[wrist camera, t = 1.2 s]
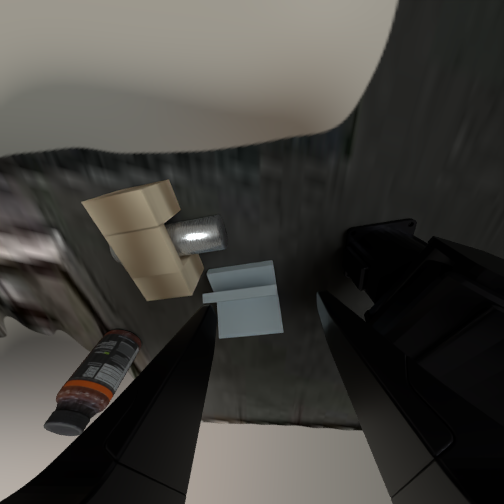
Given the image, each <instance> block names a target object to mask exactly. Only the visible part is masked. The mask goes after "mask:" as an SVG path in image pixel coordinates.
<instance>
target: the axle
mask: <svg viewBox="0 0 504 504" xmlns="http://www.w3.org/2000/svg"><path fill="white" fill-rule="evenodd" d="M165 228H166V230H167V232H168V234H169V236H170V238H171V241H172V243H173V245H174V247H175V249H176V251H177V253H178V256H179V257H180V256H186V255H193V254H199V253H205V252H212V251H218V250H225V249H226V248H227V232H226V229H225V225H224V222H223V219H222V217H221V216H220V215H215V216H209V217H204V218H198V219H193V220H187V221H181V222H176V223H170V224H165ZM109 248H110V252H111V255H112V257H113V258H114V259H115V260H116V261H117V262H118V263H120V264H122V263H121V261H120V260H119V258H118V257H117V255H116V254H115V252H114V251H113V249H112V248H111V246H110V245H109Z"/></svg>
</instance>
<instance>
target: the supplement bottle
mask: <svg viewBox="0 0 504 504" xmlns="http://www.w3.org/2000/svg"><path fill="white" fill-rule="evenodd" d="M140 348H141V340H140V339H139V338H138V337H137V336H136V335H135V334H133V333H132V332H128V331H125V330H111V331H109V332H107V333H106V334H105V335H104V336H103V338H102V339H101V340H100V341H99V342H98V344H97V345H96V346H95V347H94V348H93V350H92V351H91V352H90V353H89V355H88V356H87V357H86V359H85V360H84V361H83V362H82V363H81V365H80V366H79V367H78V368H77V370H76V371H75V372H74V373H73V375H72V376H71V377H70V378H69V380H68V381H67V382H66V383H65V384H64V386H63V387H62V388H61V390H60V391H59V393H58V394H57V396H56V402H57V407H56V410H55V411H54V412H53V413H52V414H51V416H50V417H49V419H48V420H47V421H46V423H45V424H44V428H45V429H46V430H48V431H51V432H53V433H56V434H59V435H66V436H77V435H80V434H81V433H82V432H83V431H84V429H85V427H86V425H87V424H88V423H89V422H90V418H92V417H93V416H94V415H95V414H96V413H99V412H101V411H103V410H104V409H105V408H106V407H107V405H108V404H109V402H110V400H111V398H112V397H113V395H114V394H115V392H116V390H117V388H118V387H119V385H120V383H121V381H122V380H123V378H124V376H125V375H126V373H127V371H128V369H129V367H130V366H131V364H132V362H133V361H134V359H135V357H136V355H137V353H138V352H139V350H140Z"/></svg>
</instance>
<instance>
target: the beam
mask: <svg viewBox="0 0 504 504" xmlns="http://www.w3.org/2000/svg"><path fill="white" fill-rule="evenodd" d="M81 203H82V204H83V206H84V207H85V209H86V210H87V212H88V213H89V215H90V216H91V218H92V219H93V221H94V222H95V224H96V225H97V227H98V228H99V230H100V231H101V233H102V234H103V236H104V237H105V239H106V240H107V242H108V243H109V245H110V246H111V248H112V249H113V251H114V252H115V254H116V255H117V257H118V258H119V260H120V261H121V263H122V264H123V266H124V267H125V269H126V270H127V272H128V273H129V275H130V276H131V278H132V279H133V281H134V282H135V284H136V285H137V287H138V288H139V290H140V291H141V293H142V294H143V296H144V297H145V299H146V300H147V301H151V300H159V299H167V298H175V297H183V296H191V295H192V294H193V292H194V290H195V288H196V285H197V283H198V281H199V279H200V276H201V274H202V272H203V270H204V267H203V264H202V262H201V259H200V257H199V254H193V255H186V256H180V257H179V256H178V253H177V251H176V249H175V247H174V245H173V243H172V241H171V238H170V236H169V234H168V232H167V230H166V228H165V225H164V223H165V222H167V221H168V220H169V219H170V218H172V217H173V216H174V215H175V214H176V213H178V212H179V211H180V210H181V209H180V206H179V204H178V201H177V199H176V196H175V194H174V191H173V189H172V186H171V184H170V181H169V180H164V181H159V182H155V183H150V184H145V185H141V186H136V187H131V188H127V189H122V190H119V191H115V192H112V193H109V194H106V195H102V196H99V197H96V198H93V199H89V200H86V201H83V202H81Z"/></svg>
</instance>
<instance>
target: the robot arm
mask: <svg viewBox="0 0 504 504" xmlns="http://www.w3.org/2000/svg"><path fill="white" fill-rule="evenodd" d="M409 223H411V224H410V225H409ZM416 224H417V222H416V220H413V219H403V220H397V221H390V222H384V223H378V224H371V225H365V226H359V227H352V228H350V229H349V230H348V231H347V239H346V247H345V248H344V252H343V268H344V276H345V277H346V278H351V279H352V281H353V282H354V283H355V285H356V286H357V288H358V289H359V290H361V291H362V290H365V292H366V293H367V294H368V296H369V297H370V298H371V300H372V301H373V302H374V305H373V307H372V308H371V309H370V310H367V311H366V313H365V314H364V316H365V320H366V322H365V321H364V320H363V319H362V318H360V317H359V316H358V315H357V314H355V313H354V312H353V311H352V310H350V309H349V308H348V307H347V306H345V305H344V304H343V303H342V302H340V301H339V300H338V299H337V298H335V297H334V296H333V295H332V294H330V293H329V292H328V291H318V292H317V308H318V312H319V316H320V319H321V323H322V326H323V330H324V333H325V337H326V340H327V343H328V346H329V349H330V351H331V354H332V356H333V358H334V361H335V363H336V366H337V368H338V371H339V373H340V376H341V378H342V380H343V383H344V385H345V388H346V390H347V393H348V395H349V398H350V400H351V402H352V405H353V407H354V410H355V412H356V415H357V417H358V420H359V422H360V424H361V427H362V429H363V432H364V434H365V437H366V439H367V442H368V444H369V446H370V449H371V451H372V454H373V456H374V459H375V461H376V464H377V466H378V468H379V471H380V473H381V476H382V478H383V481H384V483H385V486H386V488H387V490H388V493H389V495H390V497H391V500H392V503H393V504H504V259H502V258H499V257H497V256H494V255H492V254H490V253H487V252H485V251H482V250H478V249H475V248H472V247H468V246H465V245H462V244H458V243H455V242H452V241H448V240H445V239H442V238H439V237H435V236H433V237H432V238H431V239H430V240H429V241H428V243H426V242H424V241H422V240H421V239H419V238H417V237H415V236H414V235H413V234H414V231H415V227H416ZM353 231H354V233H353V234H351V233H352V232H353ZM347 274H348V275H347ZM216 325H217V317H216V314H215V312H214V309H213V307H212V305H203V306H201V307H200V309H199V310H198V311H197V312H196V313H195V314H194V315H193V316H192V317H191V318H190V319H189V321H188V322H187V323H186V324H185V325H184V326H183V327H182V328H181V329H180V330H179V331H178V333H177V334H176V335H175V336H174V337H173V338H172V339H171V340H170V341H169V342H168V343H167V345H166V346H165V347H164V348H163V349H162V350H161V351H160V352H159V353H158V354H157V356H156V357H155V358H154V359H153V360H152V361H151V362H150V363H149V364H148V365H147V366H146V368H145V369H144V370H143V371H142V372H141V373H140V374H139V376H137V377H136V378H135V379H134V381H133V382H132V383H131V384H130V385H129V386H128V387H127V388H126V389H125V390H124V391H123V392H122V393H121V394H120V396H119V397H118V398H117V399H116V400H115V401H114V402H113V403H112V404H111V405H110V406H109V407H108V408H107V409H106V410H105V411H104V412H103V413H102V414H101V415H100V416H99V417H98V418H97V419H96V420H95V421H94V422H93V423H92V424H91V425H90V426H89V427H88V428H87V429H86V430H85V431H84V432H82V433H81V434H80V435H79V436H78V437H77V438H76V439H75V441H73V442H72V443H71V444H70V445H69V446H68V447H67V448H66V449H65V450H64V451H63V452H62V453H61V454H60V455H59V456H58V457H57V458H56V459H55V460H54V461H53V462H52V463H51V464H50V465H48V466H47V467H46V468H45V469H44V470H43V471H42V472H41V473H40V474H39V475H37V476H36V477H35V478H34V479H32V480H31V481H30V482H28V483H27V484H26V485H25V486H23V487H22V488H20V489H19V490H18V491H16V492H15V493H13V494H12V495H10V496H9V497H7V498H6V499H4V500H2V501H1V502H0V504H185V500H186V493H187V489H188V484H189V479H190V473H191V468H192V463H193V458H194V453H195V448H196V443H197V438H198V433H199V427H200V422H201V417H202V412H203V407H204V402H205V397H206V392H207V386H208V381H209V376H210V371H211V366H212V361H213V355H214V347H215V336H216Z"/></svg>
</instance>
